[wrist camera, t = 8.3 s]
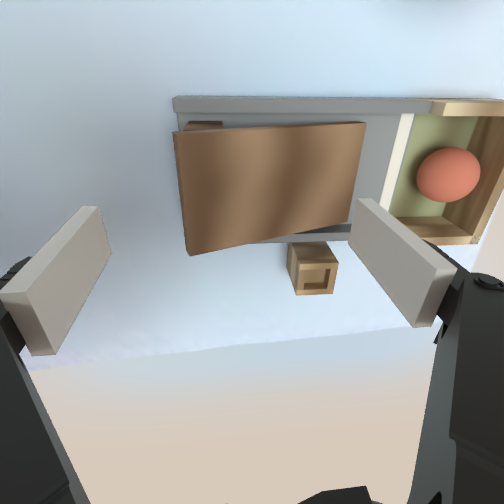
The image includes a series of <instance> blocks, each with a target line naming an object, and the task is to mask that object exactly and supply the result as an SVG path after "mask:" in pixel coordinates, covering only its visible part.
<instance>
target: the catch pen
mask: <svg viewBox="0 0 504 504" xmlns="http://www.w3.org/2000/svg"><path fill="white" fill-rule="evenodd" d="M414 99H421V100H429V101H433V105H432V108H431V112H430V114H416V118H415V121H414V125H413V129H412V132H411V136H410V140H409V143H408V147H407V151H406V154H405V158H404V162H403V165H402V169H401V173H400V176H399V180H398V184H397V187H396V191H395V194H394V198H393V202H392V205H391V209H390V214H391V215H392V216H394V217H395V218H396V219H397V220H399V221H400V222H401V223H402V224H404V225H405V226H406V227H407V228H408V229H410V230H411V231H412V232H413V233H415V234H416V235H417V236H418V237H419V238H421V239H424V240H426V241H428V242H430V243H432V244H434V245H436V246H437V245H464V244H478V242H479V240H480V238H481V236H482V233H483V231H484V229H485V227H486V225H487V223H488V221H489V218H490V216H491V214H492V212H493V210H494V208H495V206H496V203H497V201H498V199H499V197H500V195H501V193H502V190H503V188H504V100H500V99H469V98H414ZM448 147H458V148H462V149H465V150H467V151H469V152H471V153H472V154H473V155H474V156H475V157H476V158H477V160H478V162H479V165H480V178H479V181H478V183H477V185H476V186H475V188H474V189H473V190H472V191H471V192H470V193H469V194H468V195H466V196H465V197H463V198H461V199H459V200H456V201H452V202H436V201H433V200H430V199H428V198H427V197H425V196H424V195H423V194H422V193H421V192H420V190H419V188H418V186H417V180H416V177H417V171H418V169H419V167H420V165H421V163H422V162H423V161H424V160H425V158H427V157H428V156H429V155H430V154H432V153H433V152H435V151H437V150H440V149H443V148H448Z"/></svg>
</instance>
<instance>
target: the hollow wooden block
mask: <svg viewBox="0 0 504 504" xmlns="http://www.w3.org/2000/svg"><path fill="white" fill-rule="evenodd" d="M338 264H339V262H338V261H337V259H336V257H335V256H334V254H333V253H332V251H331V249H330V248H329V246H328V245H327V243H326V241H316V242H289V245H288V256H287V270H288V273H289V276H290V279H291V282H292V285H293V288H294V291H295V293H296V295H317V294H333V290H334V284H335V279H336V274H337V269H338Z"/></svg>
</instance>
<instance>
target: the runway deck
mask: <svg viewBox="0 0 504 504" xmlns="http://www.w3.org/2000/svg"><path fill="white" fill-rule="evenodd" d="M172 100H173V109H174V112H177V116H178V125H179V132H180V131H183V130H184V128H185V126H186V125H187V123H188V122H189V121H223V129H231V128H248V127H265V126H282V125H299V124H316V123H333V122H350V121H360V122H365V123H367V125H366V130H365V135H364V141H363V146H362V151H361V156H360V161H359V166H358V171H357V176H356V181H355V186H354V191H353V196H352V201H351V206H350V211H349V216H348V222H345V223H340V224H336V225H331V226H327V227H322V228H318V229H313V230H308V231H304V232H299V233H295V234H290V235H286V236H281V237H276V238H272V239H267V240H263V241H258V242H254V243H249V244H256V243H286V242H316V241H346V240H349V236H350V231H351V226H352V221H353V217H354V212H355V207H356V202H357V198H372V199H373V200H374V201H375V202H377V203H378V204H379V205H380V206H381V207H383V208H384V209H385V210H386V211H388V212H389V213H390V209H391V205H392V202H393V198H394V194H395V191H396V187H397V184H398V180H399V176H400V173H401V169H402V165H403V162H404V158H405V154H406V151H407V147H408V143H409V140H410V136H411V132H412V129H413V125H414V121H415V118H416V114H430V112H431V108H432V105H433V101H429V100H421V99H414V98H363V97H257V96H177V97H175V98H173V99H172Z"/></svg>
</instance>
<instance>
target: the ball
mask: <svg viewBox="0 0 504 504" xmlns="http://www.w3.org/2000/svg"><path fill="white" fill-rule="evenodd" d="M479 178H480V165H479V162H478V160H477V158H476V157H475V156H474V155H473V154H472V153H471V152H469V151H467V150H465V149H462V148H458V147H448V148H443V149H440V150H437V151H435V152H433V153H432V154H430V155H429V156H428V157H427V158H425V160H424V161H423V162H422V163H421V165H420V167H419V169H418V171H417V177H416V180H417V186H418V188H419V190H420V192H421V193H422V194H423V195H424V196H425V197H427V198H428V199H430V200H433V201H436V202H452V201H456V200H459V199H461V198H463V197H465V196H466V195H468V194H469V193H470V192H471V191H472V190H473V189H474V188H475V186H476V185H477V183H478V181H479Z"/></svg>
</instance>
